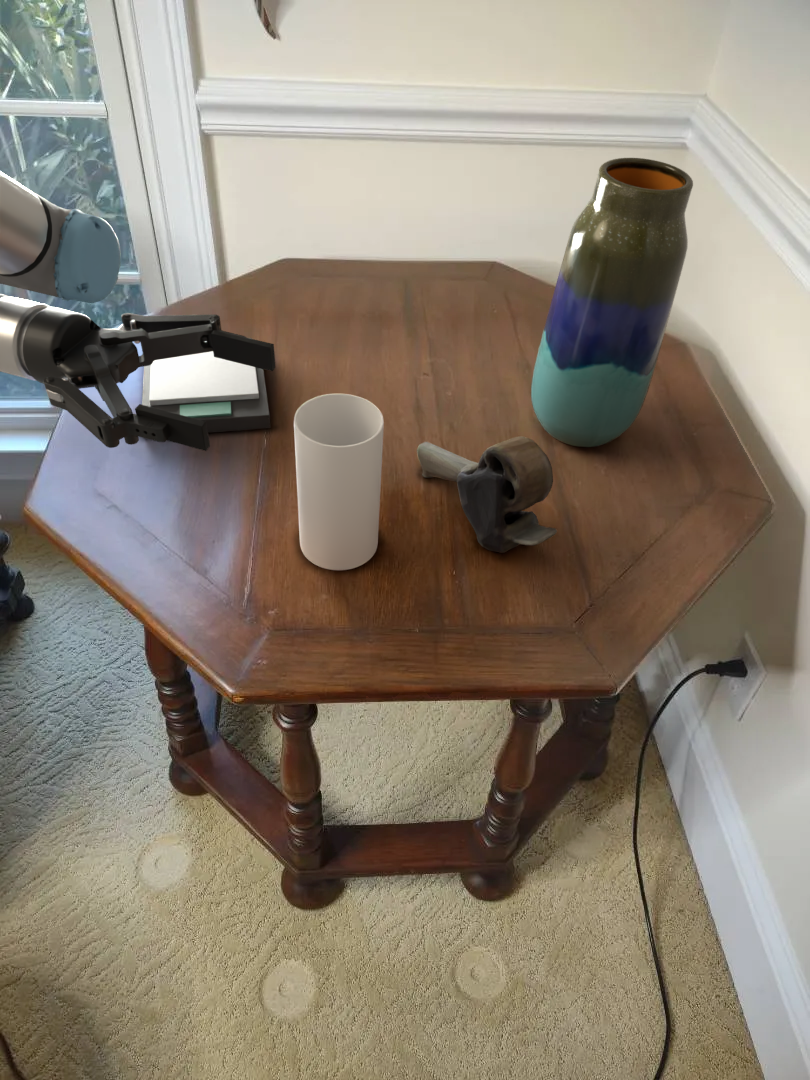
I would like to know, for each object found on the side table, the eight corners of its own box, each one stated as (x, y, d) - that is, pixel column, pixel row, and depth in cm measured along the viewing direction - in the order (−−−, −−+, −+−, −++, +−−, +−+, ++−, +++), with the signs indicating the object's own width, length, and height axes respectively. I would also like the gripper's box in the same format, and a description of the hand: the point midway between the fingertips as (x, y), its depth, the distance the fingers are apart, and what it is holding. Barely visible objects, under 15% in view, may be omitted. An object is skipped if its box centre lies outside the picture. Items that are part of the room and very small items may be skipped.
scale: (143, 437, 91) (139, 418, 89) (147, 359, 103) (143, 341, 101) (270, 428, 94) (269, 409, 92) (260, 353, 106) (259, 335, 104)
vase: (539, 464, 92) (603, 201, 70) (511, 397, 102) (559, 147, 80) (647, 459, 94) (742, 201, 72) (610, 394, 104) (683, 149, 82)
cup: (393, 542, 82) (402, 420, 70) (337, 583, 77) (337, 459, 66) (340, 504, 85) (340, 382, 74) (283, 540, 81) (274, 417, 69)
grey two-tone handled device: (402, 471, 90) (407, 388, 82) (442, 454, 93) (450, 371, 84) (519, 582, 79) (538, 498, 70) (560, 559, 81) (583, 475, 73)
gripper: (124, 319, 87) (297, 361, 83) (-30, 448, 70) (179, 509, 66) (110, 255, 81) (294, 297, 77) (-61, 379, 64) (164, 440, 61)
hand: (242, 394), depth 72 cm, fingers open, 13 cm apart
